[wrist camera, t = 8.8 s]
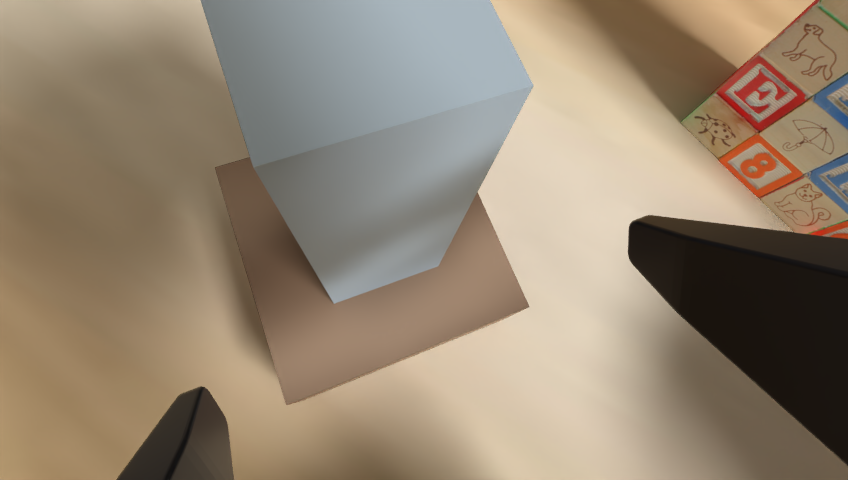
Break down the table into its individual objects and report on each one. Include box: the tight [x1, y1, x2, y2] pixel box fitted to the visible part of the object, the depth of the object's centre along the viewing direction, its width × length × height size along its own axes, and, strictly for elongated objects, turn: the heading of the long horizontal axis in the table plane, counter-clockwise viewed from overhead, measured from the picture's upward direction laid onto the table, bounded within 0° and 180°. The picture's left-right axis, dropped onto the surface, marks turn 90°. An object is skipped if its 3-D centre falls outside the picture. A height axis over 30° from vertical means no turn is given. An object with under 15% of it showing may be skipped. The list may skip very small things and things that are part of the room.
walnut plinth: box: [215, 157, 529, 405], centre depth 21 cm, size 10×10×4 cm
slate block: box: [201, 0, 533, 304], centre depth 13 cm, size 4×4×12 cm
